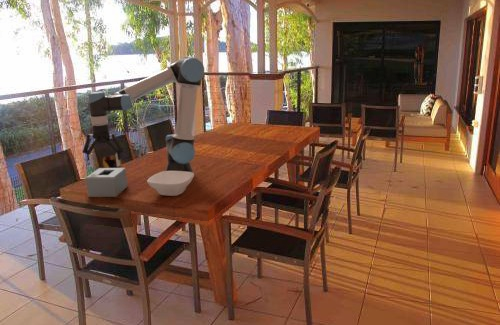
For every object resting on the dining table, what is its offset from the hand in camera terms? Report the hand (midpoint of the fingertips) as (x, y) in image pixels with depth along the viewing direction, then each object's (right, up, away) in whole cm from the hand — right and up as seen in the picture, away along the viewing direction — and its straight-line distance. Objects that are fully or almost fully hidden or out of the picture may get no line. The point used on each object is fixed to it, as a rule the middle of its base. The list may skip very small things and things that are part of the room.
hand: (105, 166), depth 219 cm
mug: (-2, -8, +24) cm, 25 cm away
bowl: (+34, -14, -3) cm, 37 cm away
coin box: (0, -13, +4) cm, 13 cm away
